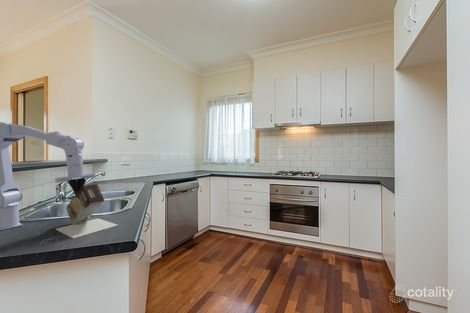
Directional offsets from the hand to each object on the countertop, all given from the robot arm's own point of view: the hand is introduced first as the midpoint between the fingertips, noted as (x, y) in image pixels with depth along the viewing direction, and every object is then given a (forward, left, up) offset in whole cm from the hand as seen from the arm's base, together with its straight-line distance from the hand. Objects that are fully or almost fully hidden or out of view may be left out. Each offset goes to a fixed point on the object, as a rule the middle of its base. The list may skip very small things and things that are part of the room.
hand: (78, 196), depth 96 cm
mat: (+10, -1, -12) cm, 15 cm away
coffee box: (-2, 0, -9) cm, 9 cm away
